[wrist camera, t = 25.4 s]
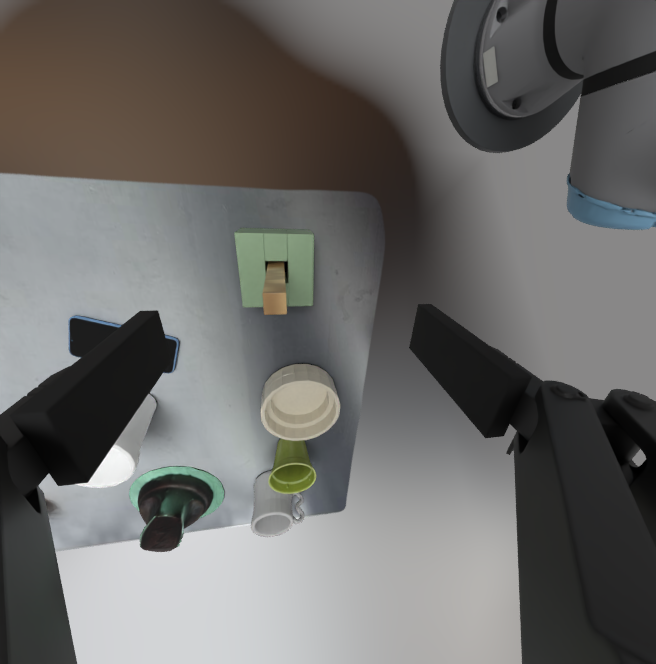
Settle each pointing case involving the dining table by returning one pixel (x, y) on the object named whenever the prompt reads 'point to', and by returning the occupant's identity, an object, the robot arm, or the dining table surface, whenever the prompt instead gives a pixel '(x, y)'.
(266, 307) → the stirring stick
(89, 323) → the smartphone
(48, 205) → the dining table surface
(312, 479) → the plant pot
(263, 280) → the holder
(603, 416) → the robot arm
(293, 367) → the bowl
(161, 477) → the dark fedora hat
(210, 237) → the dining table surface
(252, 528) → the mug
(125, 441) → the cup
